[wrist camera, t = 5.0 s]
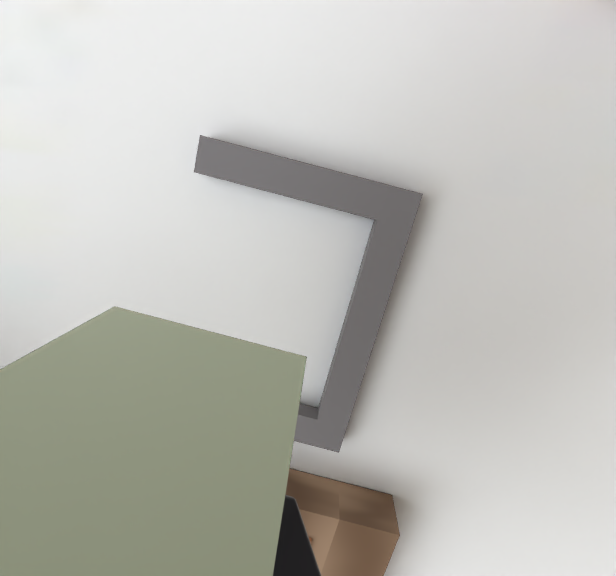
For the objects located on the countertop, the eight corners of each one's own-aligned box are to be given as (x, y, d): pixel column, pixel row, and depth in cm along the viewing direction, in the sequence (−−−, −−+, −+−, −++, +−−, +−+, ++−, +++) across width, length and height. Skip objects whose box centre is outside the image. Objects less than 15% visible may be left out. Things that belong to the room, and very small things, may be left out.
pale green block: (94, 467, 10) (-450, 1109, 3) (114, 306, 9) (-698, 753, 2) (263, 511, 10) (107, 1248, 3) (306, 357, 9) (208, 990, 2)
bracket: (163, 394, 20) (155, 404, 19) (207, 138, 17) (200, 135, 16) (338, 439, 20) (338, 452, 19) (417, 193, 17) (422, 194, 16)
